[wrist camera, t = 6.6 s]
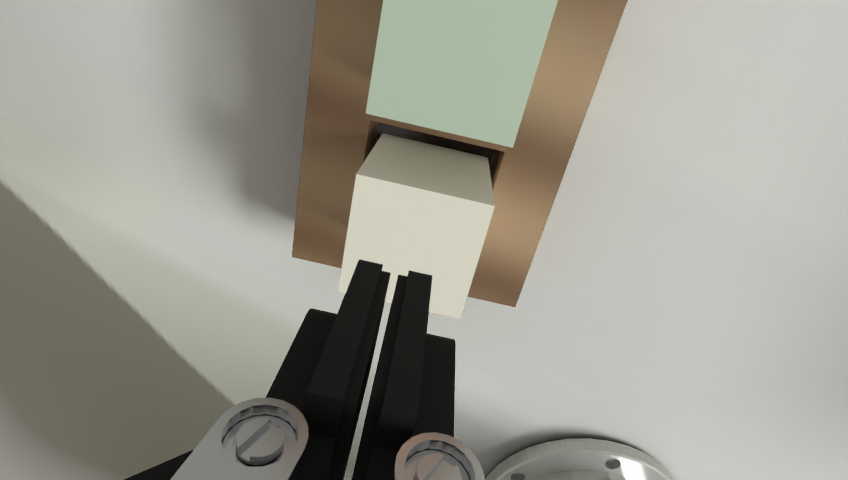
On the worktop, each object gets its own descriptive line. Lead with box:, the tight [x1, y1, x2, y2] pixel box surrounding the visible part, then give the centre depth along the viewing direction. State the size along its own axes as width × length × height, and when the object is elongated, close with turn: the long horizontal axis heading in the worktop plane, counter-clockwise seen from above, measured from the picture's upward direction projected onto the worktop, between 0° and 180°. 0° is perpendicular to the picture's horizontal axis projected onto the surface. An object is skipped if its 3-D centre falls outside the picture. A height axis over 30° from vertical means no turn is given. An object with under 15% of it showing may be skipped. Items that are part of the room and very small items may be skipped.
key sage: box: [366, 0, 558, 148], centre depth 14 cm, size 4×4×5 cm
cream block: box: [338, 133, 495, 319], centre depth 17 cm, size 4×4×5 cm
